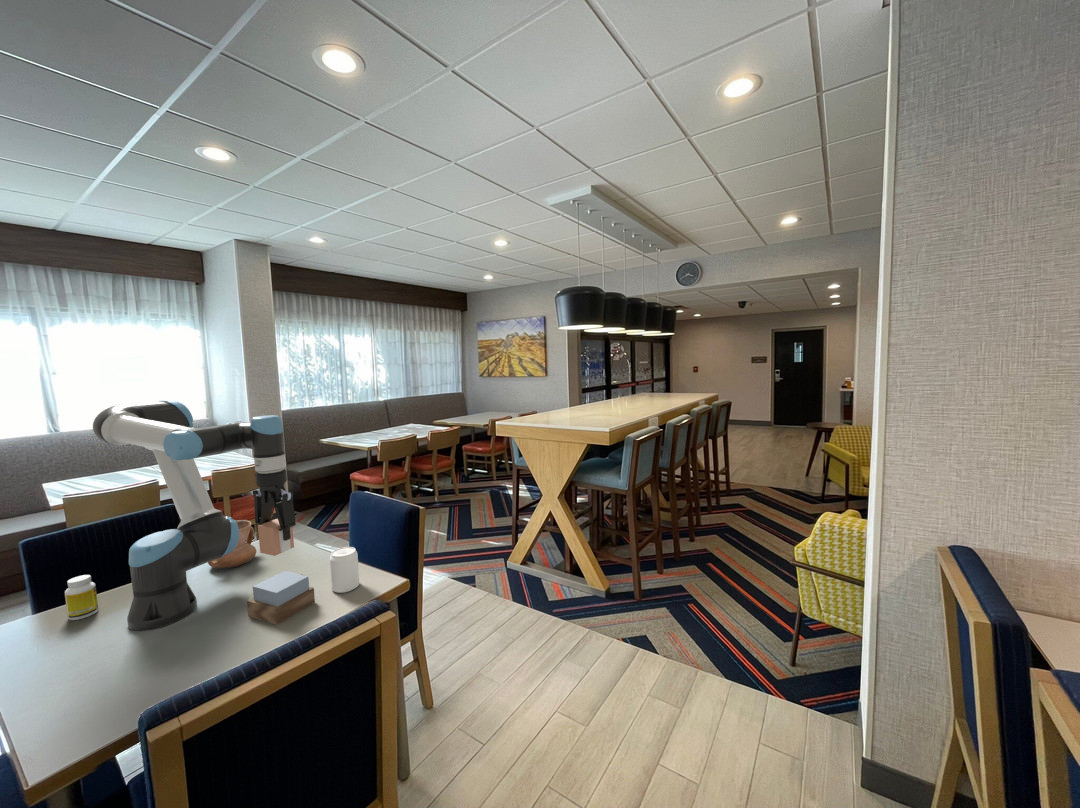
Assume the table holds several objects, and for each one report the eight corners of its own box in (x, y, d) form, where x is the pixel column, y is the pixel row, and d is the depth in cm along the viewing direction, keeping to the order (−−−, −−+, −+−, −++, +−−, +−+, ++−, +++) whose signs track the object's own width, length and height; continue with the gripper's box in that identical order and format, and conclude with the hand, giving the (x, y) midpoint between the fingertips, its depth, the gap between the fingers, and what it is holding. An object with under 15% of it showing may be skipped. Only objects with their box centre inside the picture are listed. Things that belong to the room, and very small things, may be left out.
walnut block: (248, 617, 125) (246, 600, 124) (286, 596, 136) (285, 581, 135) (277, 626, 120) (276, 608, 120) (314, 603, 131) (313, 587, 131)
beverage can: (349, 595, 135) (346, 558, 134) (326, 593, 136) (323, 556, 135) (364, 582, 143) (362, 547, 141) (342, 580, 144) (340, 545, 143)
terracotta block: (260, 552, 124) (257, 525, 123) (279, 544, 130) (277, 518, 129) (274, 555, 122) (272, 528, 121) (294, 547, 127) (292, 520, 127)
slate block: (253, 599, 125) (252, 586, 124) (286, 583, 134) (285, 570, 133) (277, 606, 121) (276, 592, 120) (309, 589, 130) (308, 576, 129)
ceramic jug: (229, 576, 149) (226, 535, 148) (193, 572, 152) (191, 532, 150) (271, 554, 166) (269, 518, 165) (238, 551, 169) (236, 515, 168)
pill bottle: (102, 611, 128) (98, 575, 127) (73, 623, 123) (69, 585, 122) (92, 607, 131) (88, 571, 130) (63, 618, 125) (59, 581, 124)
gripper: (235, 471, 124) (242, 549, 126) (282, 476, 117) (289, 559, 119) (260, 465, 131) (266, 539, 133) (306, 469, 124) (312, 548, 126)
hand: (277, 548), depth 126 cm, fingers closed on terracotta block, 6 cm apart
